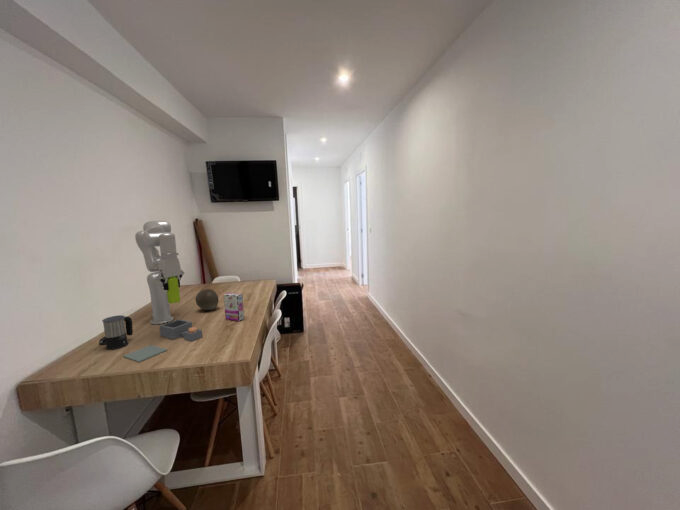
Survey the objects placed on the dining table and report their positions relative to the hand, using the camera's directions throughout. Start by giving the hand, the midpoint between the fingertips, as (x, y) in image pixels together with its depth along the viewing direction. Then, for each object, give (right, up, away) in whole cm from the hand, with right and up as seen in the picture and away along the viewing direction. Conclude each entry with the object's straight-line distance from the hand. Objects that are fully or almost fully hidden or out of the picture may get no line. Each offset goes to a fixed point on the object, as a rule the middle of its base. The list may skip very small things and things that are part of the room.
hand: (172, 288), depth 162 cm
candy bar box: (+26, -23, +25) cm, 42 cm away
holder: (+6, -26, +1) cm, 27 cm away
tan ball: (+13, -24, -3) cm, 28 cm away
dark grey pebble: (0, -21, +45) cm, 49 cm away
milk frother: (-26, -28, -9) cm, 39 cm away
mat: (-1, -29, -20) cm, 36 cm away
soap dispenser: (0, -8, +1) cm, 8 cm away
